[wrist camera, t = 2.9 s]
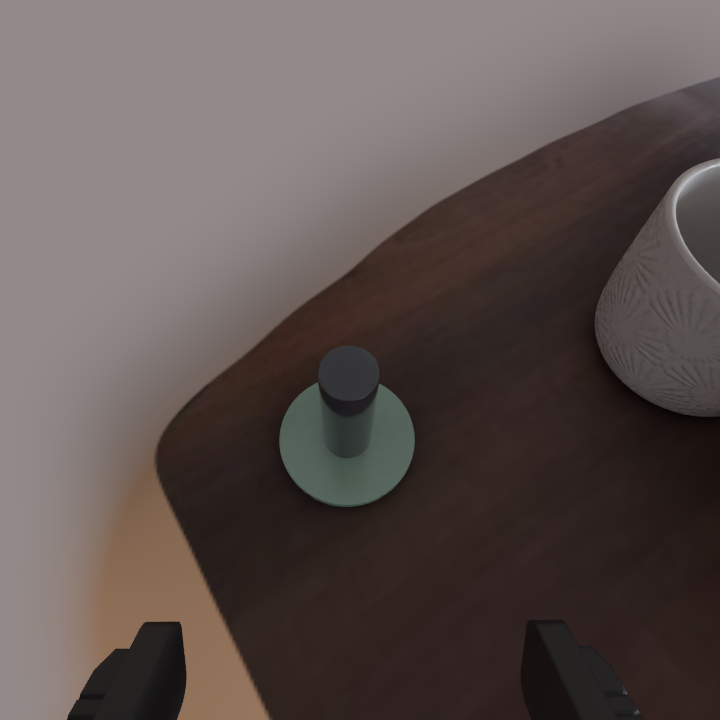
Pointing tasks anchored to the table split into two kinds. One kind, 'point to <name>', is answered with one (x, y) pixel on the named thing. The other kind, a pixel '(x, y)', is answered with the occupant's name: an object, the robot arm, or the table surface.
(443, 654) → the table surface
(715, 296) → the planter
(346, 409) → the green peg stand
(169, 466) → the table surface
